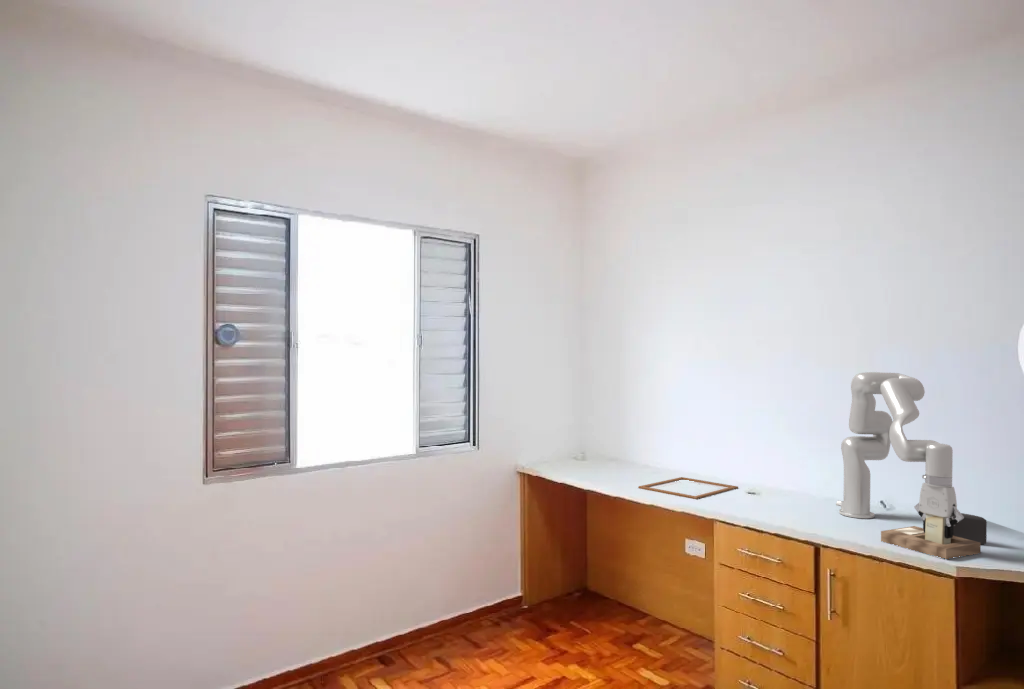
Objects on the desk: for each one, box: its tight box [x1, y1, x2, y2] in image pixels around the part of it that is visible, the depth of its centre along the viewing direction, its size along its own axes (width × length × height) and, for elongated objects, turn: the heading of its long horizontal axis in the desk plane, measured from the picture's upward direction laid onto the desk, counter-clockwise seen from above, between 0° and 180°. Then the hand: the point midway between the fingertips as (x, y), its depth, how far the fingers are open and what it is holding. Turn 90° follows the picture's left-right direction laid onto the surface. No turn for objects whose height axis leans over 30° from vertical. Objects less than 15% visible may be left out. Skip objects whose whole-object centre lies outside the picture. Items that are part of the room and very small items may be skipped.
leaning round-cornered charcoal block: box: [953, 512, 988, 546], centre depth 229 cm, size 16×5×9 cm, turn 51°
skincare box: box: [925, 514, 951, 545], centre depth 218 cm, size 6×4×12 cm
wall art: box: [637, 476, 739, 500], centre depth 312 cm, size 31×2×38 cm
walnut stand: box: [880, 525, 982, 560], centre depth 220 cm, size 22×18×4 cm
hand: (938, 534), depth 218 cm, fingers closed on skincare box, 6 cm apart
